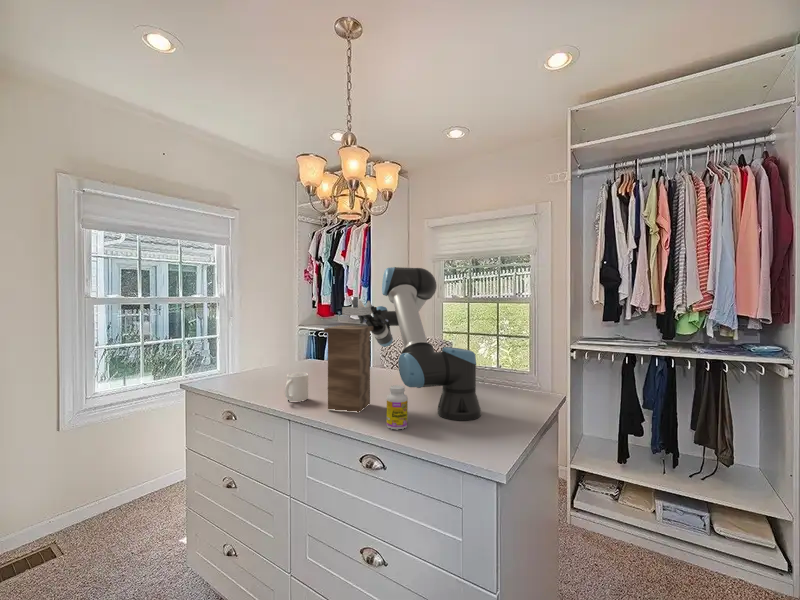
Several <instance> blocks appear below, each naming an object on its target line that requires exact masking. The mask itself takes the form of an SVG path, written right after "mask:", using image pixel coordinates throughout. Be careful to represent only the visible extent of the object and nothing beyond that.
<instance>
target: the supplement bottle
mask: <svg viewBox="0 0 800 600" xmlns="http://www.w3.org/2000/svg"><path fill="white" fill-rule="evenodd" d="M405 388H406V387H405V386H404V385H398V384H396V385H390V386H389V394H387V396H386V427H387V429H389V428H391V429H390V430H392V429H402V430H405V429H407V427H408V402H409V401H408V400H409V399H408V396H407V394H405V391H406V390H405ZM404 428H405V429H404Z"/></svg>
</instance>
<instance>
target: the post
mask: <svg viewBox="0 0 800 600" xmlns="http://www.w3.org/2000/svg"><path fill="white" fill-rule="evenodd" d="M372 330H373V326H368V325H336V326H330V327H324V328H323V333H324V334H325V333H327V410H328V409H335V410H347V411H357V412H359V411H361V410H362V409H363V408H365V407H366V406H367V405H368V404H370V405H371V331H372ZM368 406H369V405H368ZM368 406H367V407H368ZM367 407H366V408H367ZM366 408H365V409H366ZM362 411H363V410H362ZM362 411H361V412H362Z"/></svg>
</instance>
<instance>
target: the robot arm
mask: <svg viewBox="0 0 800 600" xmlns="http://www.w3.org/2000/svg"><path fill="white" fill-rule="evenodd" d="M381 282H382V283H381V294H382V295H383V296H384V297H388V300H389V301H390V303H392V304H393V306H394V310H388V307H386V306H384V305H379V306H377V307H376V306H374V305H373V304H372V303H371V301H370V300H367V302H366V307H370V314H369V315H357V317H358V318H359V323H360V324H366V326H373V330H372V331H370V333H372V335H373V336H374V338H375V340H376V342H377V343H378V345H380V346H381V347H383V348H385V347H389V346H391V345H392V343H393V341H394V337H393V334H392V332H391V327H395V326H397V327H399V331H400V336H401V339H402V344H403V345H402V346H403V349H402V351H401V353H400V355H399V356H398V362H397V364H398V373H399V376H400V379H401V381H402V382H403V384H404V385H405V386H406V387H408V388H416V389H417V388H418V389H421V388H428V387H429V388H430V387H442V391H441V395H440V398H439V402H438V405H437V415H438V416H439V417H441V418H444V419H446V420H447V419H448V420H452V421H473V420H475V419H479V418H480V417H481V415H482V410H481V406H480V402H479V399H478V396H477V392H476V390H477V388H476V387H477V385H476V384H477V358H476V353H475V352H474V351H472V350H470V349H465V348H459V347H452V346H450V347H449V346H444V347H442V349H441V351H435V349H434V346H433V345H432V343H430V342H428V339H427V337H426V333H425V330H424V325H423V323H422V320H421V319H422V318H421V316H420V313H419V312H420V311H421V310H422V308H423V306H424V305H425V304H426V302H427V301H428V300H430V299H432V298H433V296H434V295H435V293H436V291H437V281H436V278H435V276H434V275H433V273H431V271H429V270H427V269H426V268H424V267H423V268H422V267H401V266H400V267H399V266H398V267H396V266H392V267H387V268H385V269H384V272H383V276H382V281H381ZM358 307H365V305H364V303H363V301H362V300H358Z"/></svg>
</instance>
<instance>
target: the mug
mask: <svg viewBox="0 0 800 600" xmlns="http://www.w3.org/2000/svg"><path fill="white" fill-rule="evenodd" d="M284 395H285V398H286V400H289V401H302V400H306V399H308V400H309V373H307V372H291V373H287V374H286V384H285V386H284Z"/></svg>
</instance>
